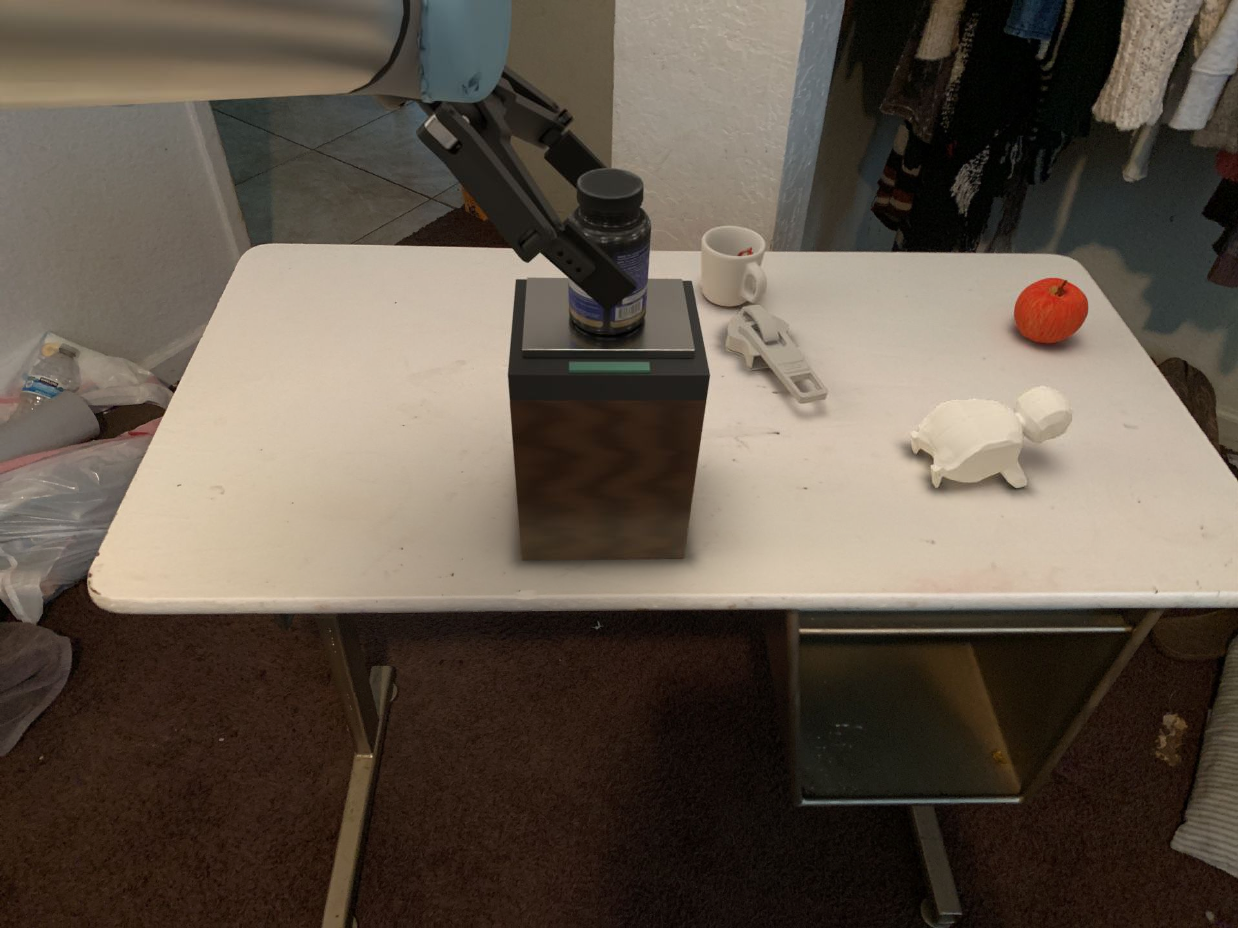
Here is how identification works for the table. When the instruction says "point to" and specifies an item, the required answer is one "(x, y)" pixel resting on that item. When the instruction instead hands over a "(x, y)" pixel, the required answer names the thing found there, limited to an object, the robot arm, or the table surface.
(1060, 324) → the apple
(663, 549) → the stand
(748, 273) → the cup
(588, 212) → the pill bottle
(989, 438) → the white turtle figurine
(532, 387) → the scale
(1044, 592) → the table surface
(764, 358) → the zipper pull
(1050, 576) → the table surface
